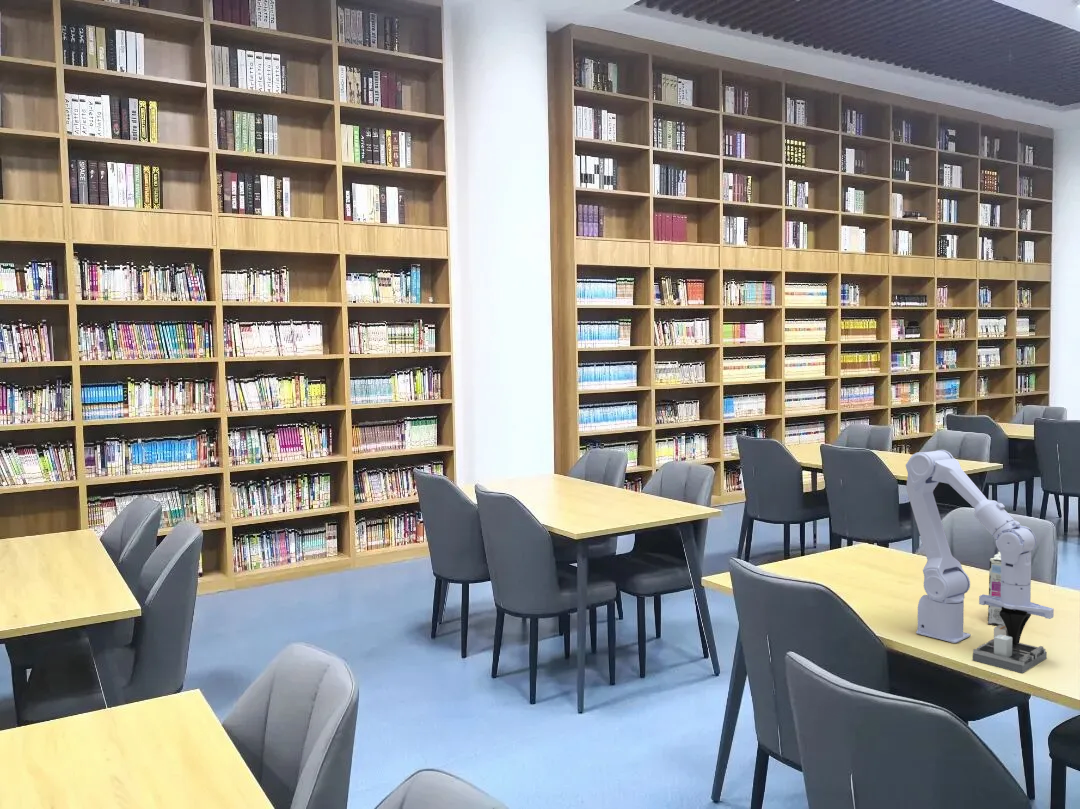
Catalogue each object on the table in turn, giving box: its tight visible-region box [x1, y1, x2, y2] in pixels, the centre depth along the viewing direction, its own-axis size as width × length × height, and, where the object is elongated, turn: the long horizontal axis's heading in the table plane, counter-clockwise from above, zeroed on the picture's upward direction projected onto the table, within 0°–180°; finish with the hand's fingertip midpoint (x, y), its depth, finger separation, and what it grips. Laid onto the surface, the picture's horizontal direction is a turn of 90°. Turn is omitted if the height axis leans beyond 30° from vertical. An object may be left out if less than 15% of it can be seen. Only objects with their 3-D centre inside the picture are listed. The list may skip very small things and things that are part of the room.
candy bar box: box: [987, 551, 1005, 627], centre depth 206 cm, size 11×5×16 cm, turn 141°
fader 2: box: [993, 634, 1012, 657], centre depth 178 cm, size 2×3×4 cm
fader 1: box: [993, 625, 1009, 638], centre depth 184 cm, size 2×3×4 cm
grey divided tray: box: [972, 638, 1048, 674], centre depth 180 cm, size 10×13×3 cm
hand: (1014, 643), depth 182 cm, fingers closed
